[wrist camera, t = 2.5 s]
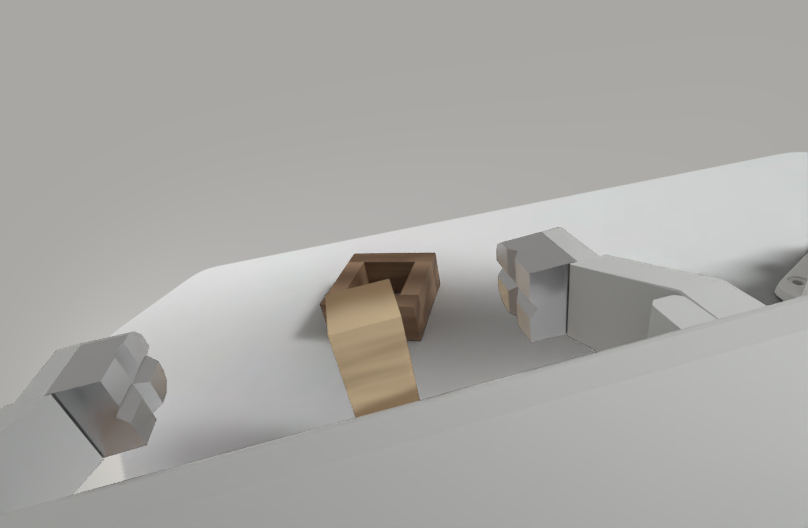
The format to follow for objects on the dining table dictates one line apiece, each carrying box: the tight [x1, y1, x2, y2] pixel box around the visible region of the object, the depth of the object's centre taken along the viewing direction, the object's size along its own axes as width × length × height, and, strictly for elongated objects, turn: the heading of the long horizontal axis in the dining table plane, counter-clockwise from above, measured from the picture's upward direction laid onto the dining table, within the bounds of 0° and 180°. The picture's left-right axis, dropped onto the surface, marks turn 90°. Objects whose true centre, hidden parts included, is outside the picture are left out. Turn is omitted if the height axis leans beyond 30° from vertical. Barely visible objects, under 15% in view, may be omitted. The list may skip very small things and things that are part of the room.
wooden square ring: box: [320, 253, 440, 341], centre depth 50 cm, size 10×10×4 cm
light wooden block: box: [325, 279, 420, 418], centre depth 29 cm, size 4×4×16 cm
